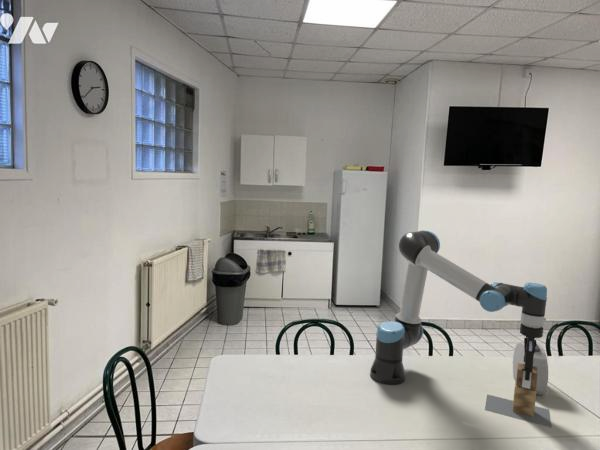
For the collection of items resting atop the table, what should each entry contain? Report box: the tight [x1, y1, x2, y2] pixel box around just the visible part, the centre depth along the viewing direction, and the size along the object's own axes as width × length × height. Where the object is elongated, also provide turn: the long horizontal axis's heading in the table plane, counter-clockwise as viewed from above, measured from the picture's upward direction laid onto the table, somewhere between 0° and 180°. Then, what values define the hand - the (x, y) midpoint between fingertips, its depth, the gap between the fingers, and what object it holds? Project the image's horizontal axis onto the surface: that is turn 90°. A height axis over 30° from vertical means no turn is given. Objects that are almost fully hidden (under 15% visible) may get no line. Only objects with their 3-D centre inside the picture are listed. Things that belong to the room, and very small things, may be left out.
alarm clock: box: [512, 341, 549, 396], centre depth 182 cm, size 21×8×20 cm, turn 168°
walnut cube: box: [516, 363, 538, 390], centre depth 160 cm, size 6×6×6 cm
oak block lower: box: [512, 398, 536, 417], centre depth 161 cm, size 7×5×5 cm
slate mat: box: [484, 394, 553, 428], centre depth 162 cm, size 22×14×1 cm, turn 63°
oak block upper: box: [513, 380, 537, 405], centre depth 161 cm, size 7×5×5 cm
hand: (525, 383), depth 160 cm, fingers closed on walnut cube, 6 cm apart
